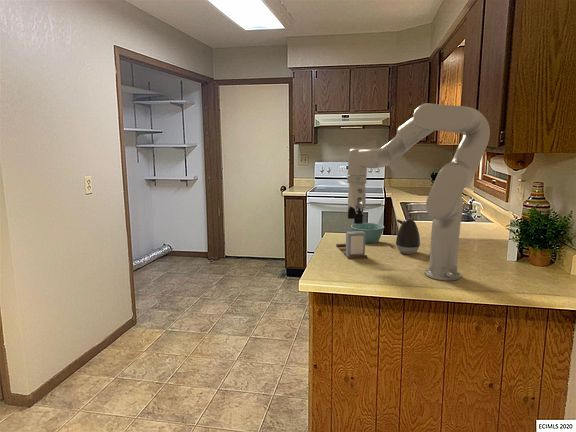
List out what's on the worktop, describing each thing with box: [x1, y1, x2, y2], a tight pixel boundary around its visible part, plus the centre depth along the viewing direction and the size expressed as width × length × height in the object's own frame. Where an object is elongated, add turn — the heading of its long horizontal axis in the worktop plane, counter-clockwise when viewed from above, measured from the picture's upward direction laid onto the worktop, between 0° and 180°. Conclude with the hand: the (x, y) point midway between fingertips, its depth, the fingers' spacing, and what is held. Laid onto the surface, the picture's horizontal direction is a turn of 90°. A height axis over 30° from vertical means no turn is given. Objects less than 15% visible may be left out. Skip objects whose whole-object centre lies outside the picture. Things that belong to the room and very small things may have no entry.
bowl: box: [350, 222, 385, 244], centre depth 202 cm, size 16×16×8 cm
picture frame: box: [345, 231, 366, 258], centre depth 173 cm, size 4×7×10 cm, turn 97°
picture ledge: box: [335, 243, 368, 260], centre depth 180 cm, size 20×8×2 cm, turn 7°
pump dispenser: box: [395, 218, 421, 255], centre depth 183 cm, size 10×10×15 cm
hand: (354, 221), depth 171 cm, fingers open, 9 cm apart
